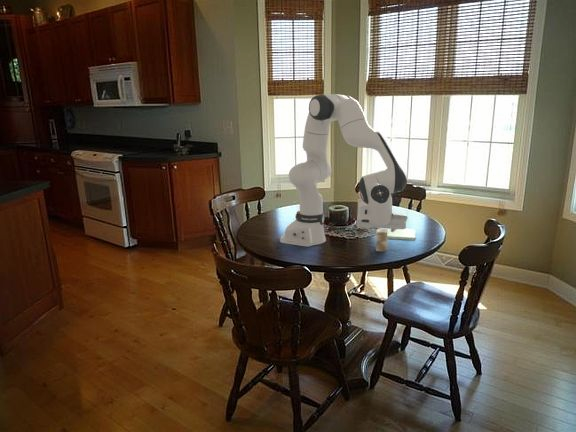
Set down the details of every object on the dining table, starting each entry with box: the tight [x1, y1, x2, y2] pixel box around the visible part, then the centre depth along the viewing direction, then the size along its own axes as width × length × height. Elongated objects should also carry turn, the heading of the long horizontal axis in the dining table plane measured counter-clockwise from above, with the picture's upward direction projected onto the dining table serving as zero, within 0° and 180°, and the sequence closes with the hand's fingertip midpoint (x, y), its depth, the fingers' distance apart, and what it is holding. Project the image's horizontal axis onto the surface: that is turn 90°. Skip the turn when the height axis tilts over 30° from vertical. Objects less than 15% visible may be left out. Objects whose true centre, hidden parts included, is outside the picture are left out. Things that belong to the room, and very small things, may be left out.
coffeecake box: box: [356, 191, 369, 230], centre depth 226 cm, size 15×7×20 cm, turn 157°
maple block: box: [375, 228, 388, 252], centre depth 191 cm, size 4×4×9 cm
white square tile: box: [386, 227, 416, 241], centre depth 212 cm, size 14×14×1 cm
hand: (381, 229), depth 181 cm, fingers open, 8 cm apart
